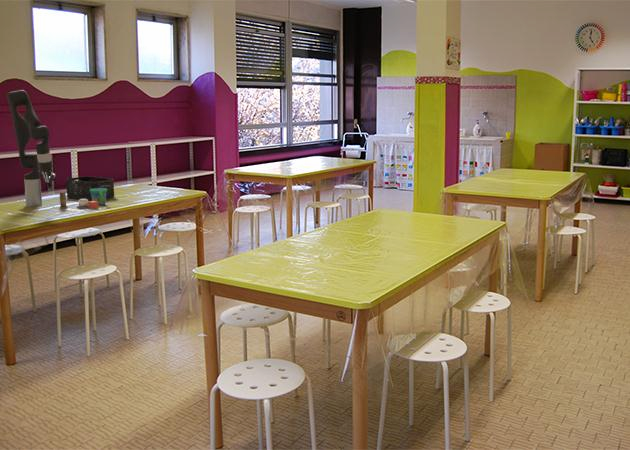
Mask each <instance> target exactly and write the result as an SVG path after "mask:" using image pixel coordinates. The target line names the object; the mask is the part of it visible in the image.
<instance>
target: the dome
mask: <svg viewBox="0 0 630 450" xmlns="http://www.w3.org/2000/svg"><path fill="white" fill-rule="evenodd" d="M77 200H78V199H77ZM77 202H78V206H87V205H88V202H89V201H88V200H87V199H80V200H78V201H77Z"/></svg>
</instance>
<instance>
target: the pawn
mask: <svg viewBox="0 0 630 450" xmlns="http://www.w3.org/2000/svg"><path fill="white" fill-rule="evenodd" d="M59 202H60V204H59V205H60V206H59V208H60V209H59V210H65V209H68V208H69V207H68V205H67V193H66V191H59Z"/></svg>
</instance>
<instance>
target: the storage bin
mask: <svg viewBox="0 0 630 450" xmlns="http://www.w3.org/2000/svg"><path fill="white" fill-rule="evenodd" d="M65 182H66V183H65V185H66V186H65V187H66V199H71V200H80V199H87V200H88V202H91V201H92V197H91V193H90V189H94V188H106V189H107V192H106V200H110V198H111V199H114V198H115V187H114V185H115V183H114V182H115V181H114V178H109V177H99V176H89V175H85V176H77V177H71V178H70V177H68V178H65Z"/></svg>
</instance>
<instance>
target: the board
mask: <svg viewBox="0 0 630 450" xmlns="http://www.w3.org/2000/svg"><path fill="white" fill-rule="evenodd" d="M58 209H59V210H61V209H60V207H59V208H58ZM82 209H91V210H90V211H91V212H92V211H93V210H95V211H97V210H99V205H98V202H97V201H88V205H87V206H79V205H77V206H76V208H70V207H68V208H67V209H64V210H66V211H73V212H74V211H75V212H77V213H79V214H80V213H82V212H84V213H85V212H86V213H87V212H88V210H87V211H85V210H82Z"/></svg>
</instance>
